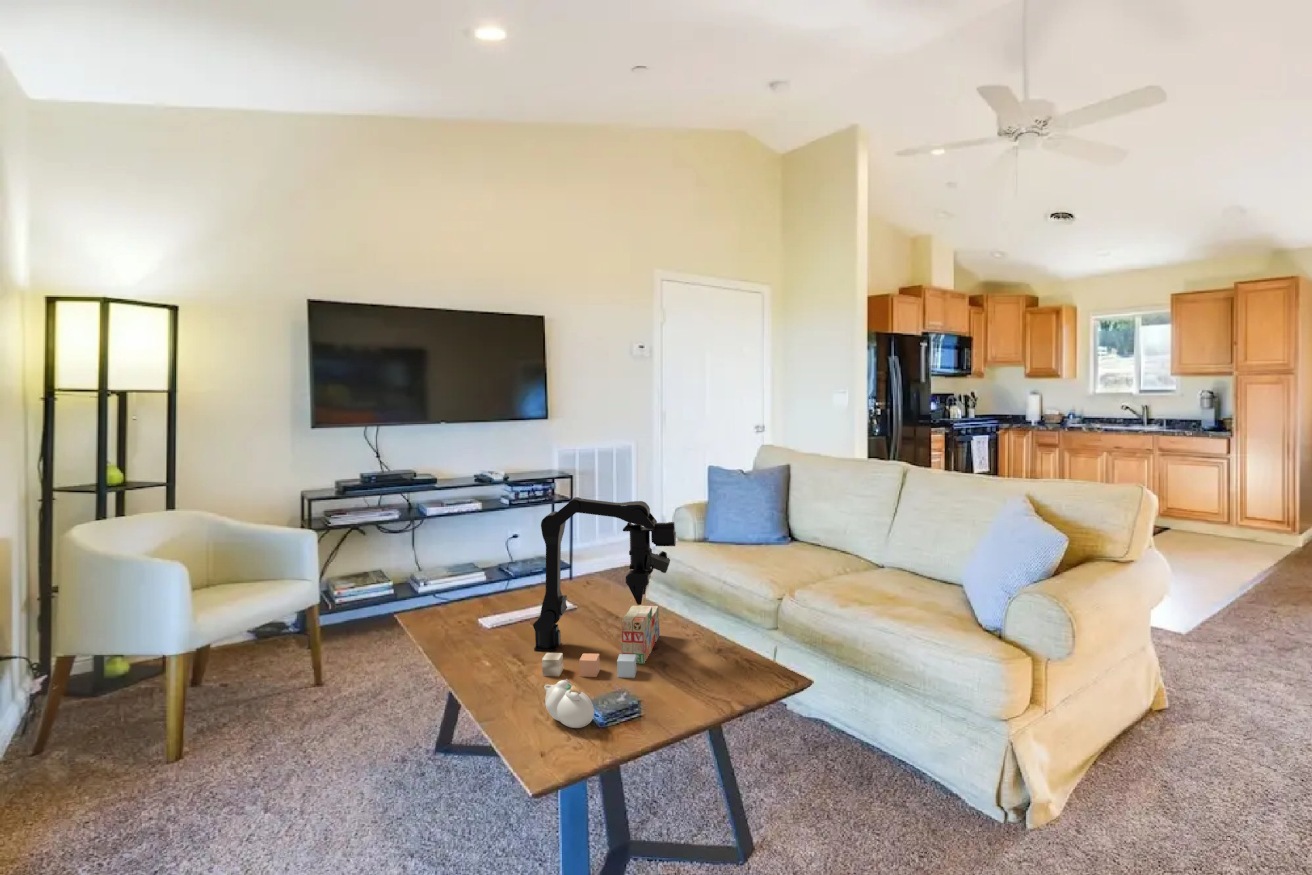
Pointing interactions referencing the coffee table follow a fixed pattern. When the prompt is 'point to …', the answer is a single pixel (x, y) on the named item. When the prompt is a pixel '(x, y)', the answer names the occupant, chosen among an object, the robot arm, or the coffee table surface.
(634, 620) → the stack of blocks
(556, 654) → the cream block
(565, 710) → the cat figurine
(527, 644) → the coffee table surface
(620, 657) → the blue grey block
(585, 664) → the terracotta block
